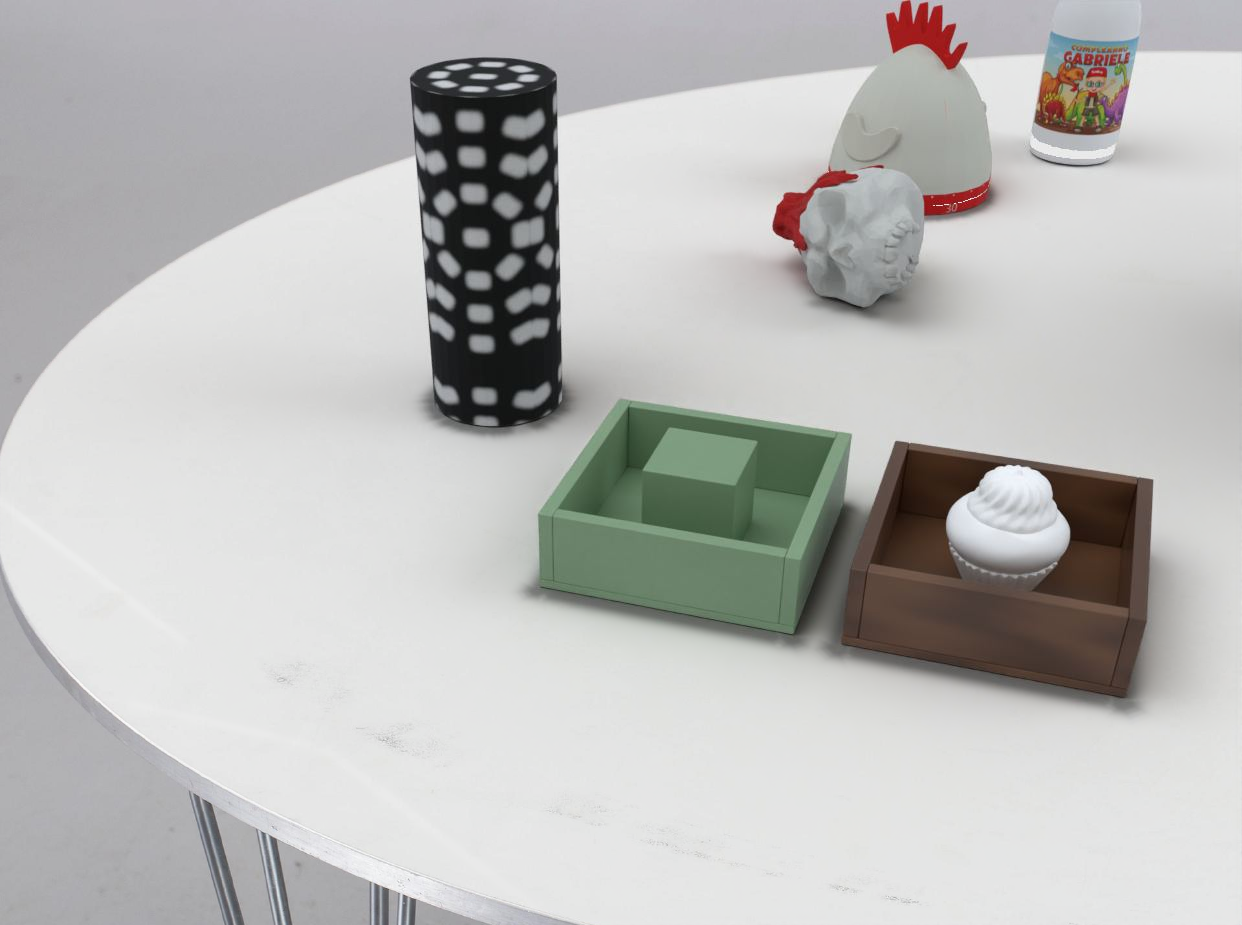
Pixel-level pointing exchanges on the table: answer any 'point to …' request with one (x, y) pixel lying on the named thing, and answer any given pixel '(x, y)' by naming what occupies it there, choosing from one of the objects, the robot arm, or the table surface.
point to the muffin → (1008, 529)
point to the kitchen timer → (920, 116)
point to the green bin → (685, 561)
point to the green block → (700, 484)
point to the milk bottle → (1086, 76)
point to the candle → (856, 232)
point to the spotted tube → (490, 236)
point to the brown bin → (994, 615)
